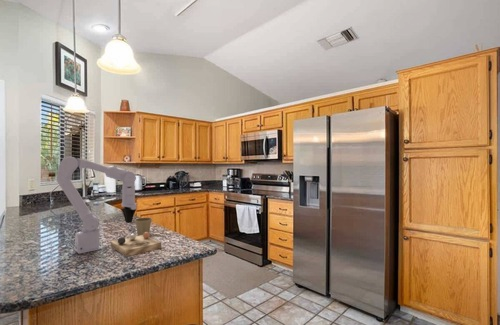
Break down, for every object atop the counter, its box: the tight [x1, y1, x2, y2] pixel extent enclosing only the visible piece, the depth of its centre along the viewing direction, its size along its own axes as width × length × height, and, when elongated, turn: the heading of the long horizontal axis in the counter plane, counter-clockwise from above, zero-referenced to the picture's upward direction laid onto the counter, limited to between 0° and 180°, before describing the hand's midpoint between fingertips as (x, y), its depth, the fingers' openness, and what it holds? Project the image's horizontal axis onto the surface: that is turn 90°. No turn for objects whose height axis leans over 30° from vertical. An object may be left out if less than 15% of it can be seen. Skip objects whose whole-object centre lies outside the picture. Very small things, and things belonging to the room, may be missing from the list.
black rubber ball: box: [117, 236, 125, 244], centre depth 119 cm, size 3×3×3 cm
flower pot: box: [134, 217, 153, 236], centre depth 145 cm, size 9×9×9 cm
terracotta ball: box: [143, 232, 151, 239], centre depth 128 cm, size 3×3×3 cm
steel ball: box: [128, 233, 137, 240], centre depth 125 cm, size 3×3×3 cm
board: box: [110, 235, 162, 257], centre depth 122 cm, size 16×20×2 cm
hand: (128, 222), depth 129 cm, fingers closed
